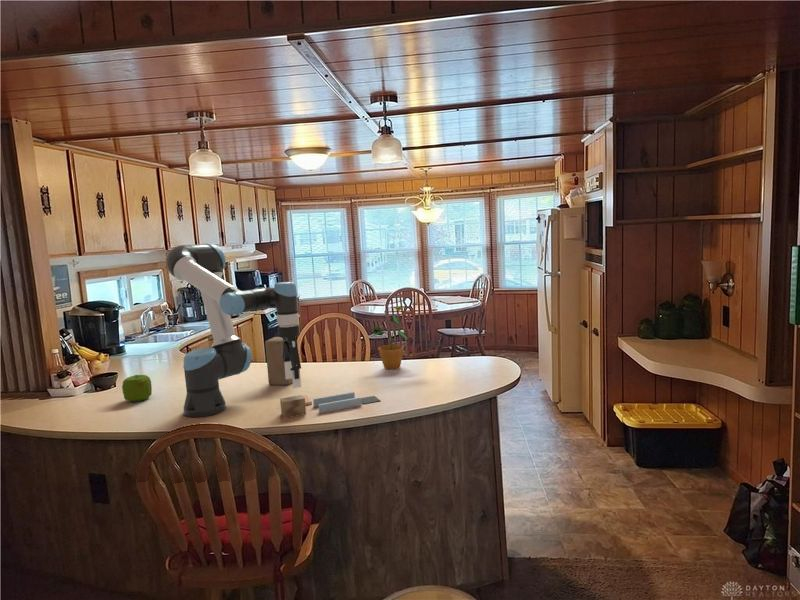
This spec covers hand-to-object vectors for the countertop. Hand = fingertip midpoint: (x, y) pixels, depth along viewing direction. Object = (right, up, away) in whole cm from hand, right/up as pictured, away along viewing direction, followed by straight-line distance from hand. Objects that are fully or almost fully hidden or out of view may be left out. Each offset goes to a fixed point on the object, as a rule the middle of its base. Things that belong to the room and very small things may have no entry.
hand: (293, 383), depth 192 cm
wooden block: (-13, -7, +45) cm, 47 cm away
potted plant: (+35, -2, +60) cm, 70 cm away
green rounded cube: (-71, -12, +30) cm, 78 cm away
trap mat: (+27, -9, +12) cm, 30 cm away
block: (0, -12, +1) cm, 12 cm away
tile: (-2, -10, +14) cm, 17 cm away
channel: (+15, -10, +7) cm, 19 cm away
